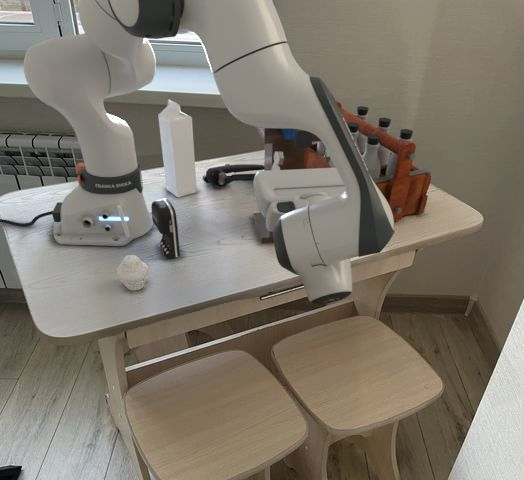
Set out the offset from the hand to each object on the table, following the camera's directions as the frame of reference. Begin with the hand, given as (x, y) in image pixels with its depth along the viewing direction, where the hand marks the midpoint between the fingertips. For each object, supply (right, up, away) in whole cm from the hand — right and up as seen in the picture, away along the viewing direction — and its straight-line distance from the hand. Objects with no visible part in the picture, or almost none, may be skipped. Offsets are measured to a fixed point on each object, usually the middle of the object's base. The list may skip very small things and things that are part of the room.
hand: (302, 152), depth 92 cm
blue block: (-2, +6, +7) cm, 9 cm away
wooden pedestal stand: (-3, -8, +26) cm, 28 cm away
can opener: (-15, +9, +44) cm, 48 cm away
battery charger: (-28, -15, +18) cm, 37 cm away
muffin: (-33, -24, +8) cm, 42 cm away
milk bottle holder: (+18, +4, +40) cm, 44 cm away
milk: (-29, +6, +40) cm, 50 cm away
